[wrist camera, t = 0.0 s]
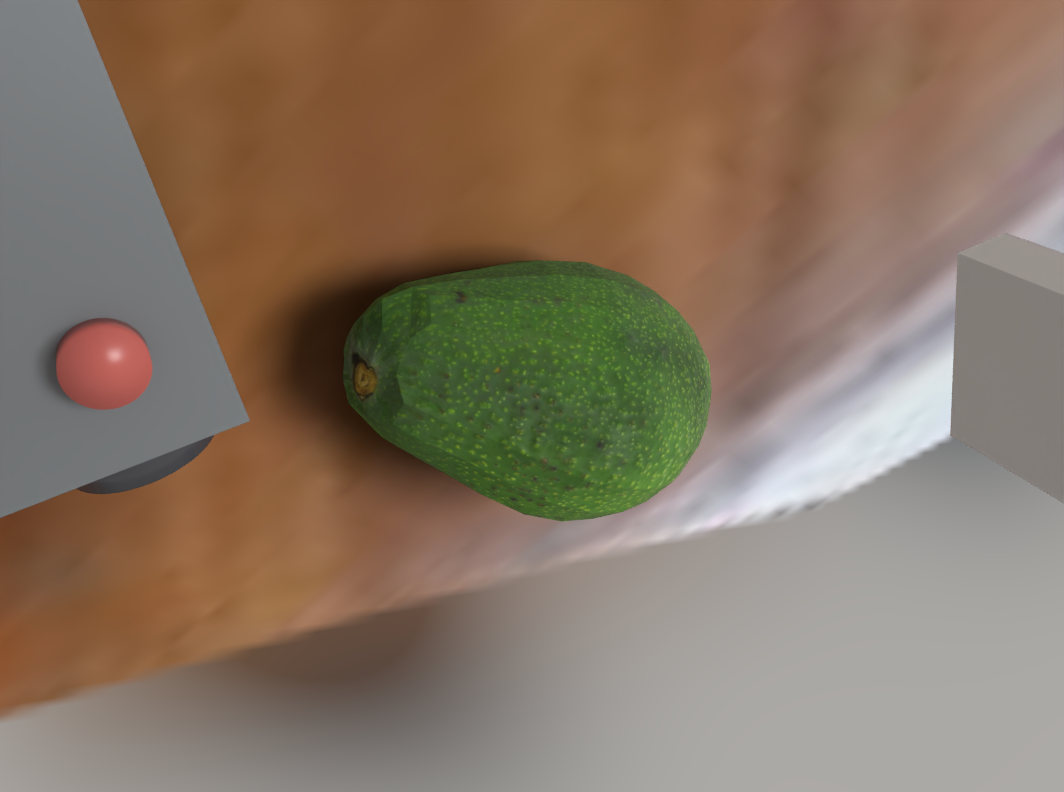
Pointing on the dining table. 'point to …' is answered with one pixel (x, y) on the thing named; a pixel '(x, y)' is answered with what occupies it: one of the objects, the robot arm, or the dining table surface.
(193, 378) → the camera body
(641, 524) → the dining table surface
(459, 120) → the dining table surface
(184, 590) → the dining table surface
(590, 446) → the fruit
